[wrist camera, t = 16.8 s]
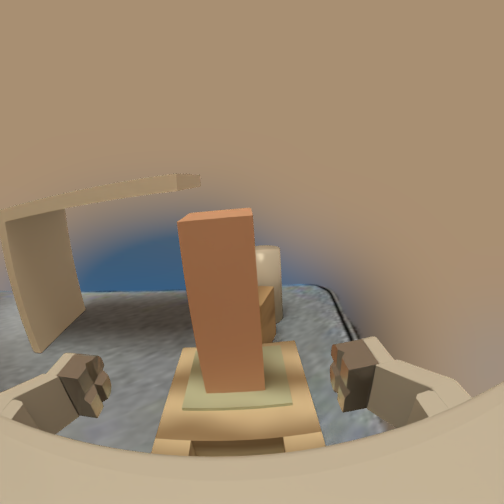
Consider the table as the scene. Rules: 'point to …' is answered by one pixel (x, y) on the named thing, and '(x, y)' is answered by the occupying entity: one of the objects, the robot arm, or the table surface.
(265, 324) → the oak block
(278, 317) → the cream cylinder
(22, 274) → the folded cream panel
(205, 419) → the hole board
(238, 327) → the pillar
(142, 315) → the table surface
